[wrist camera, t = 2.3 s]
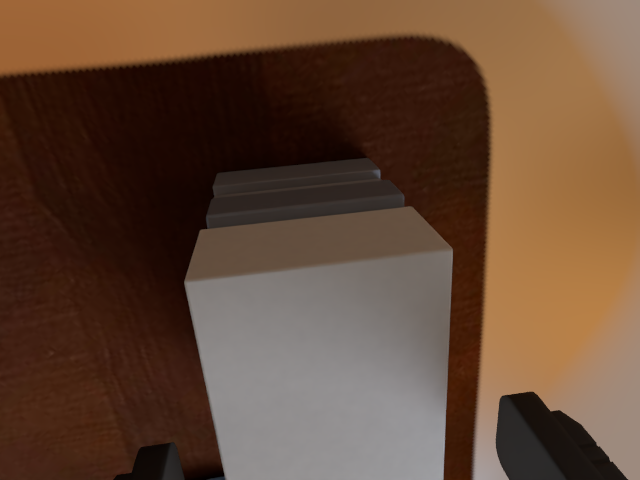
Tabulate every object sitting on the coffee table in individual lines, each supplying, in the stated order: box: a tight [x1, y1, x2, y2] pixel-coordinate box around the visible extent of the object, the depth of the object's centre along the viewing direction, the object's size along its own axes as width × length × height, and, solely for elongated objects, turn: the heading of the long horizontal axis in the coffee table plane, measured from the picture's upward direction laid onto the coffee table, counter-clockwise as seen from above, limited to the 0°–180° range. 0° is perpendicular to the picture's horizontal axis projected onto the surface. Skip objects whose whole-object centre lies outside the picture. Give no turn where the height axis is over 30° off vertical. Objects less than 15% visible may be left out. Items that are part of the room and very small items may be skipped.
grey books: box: [206, 158, 404, 229], centre depth 17 cm, size 10×6×5 cm, turn 4°
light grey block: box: [184, 206, 453, 480], centre depth 13 cm, size 10×6×3 cm, turn 4°
